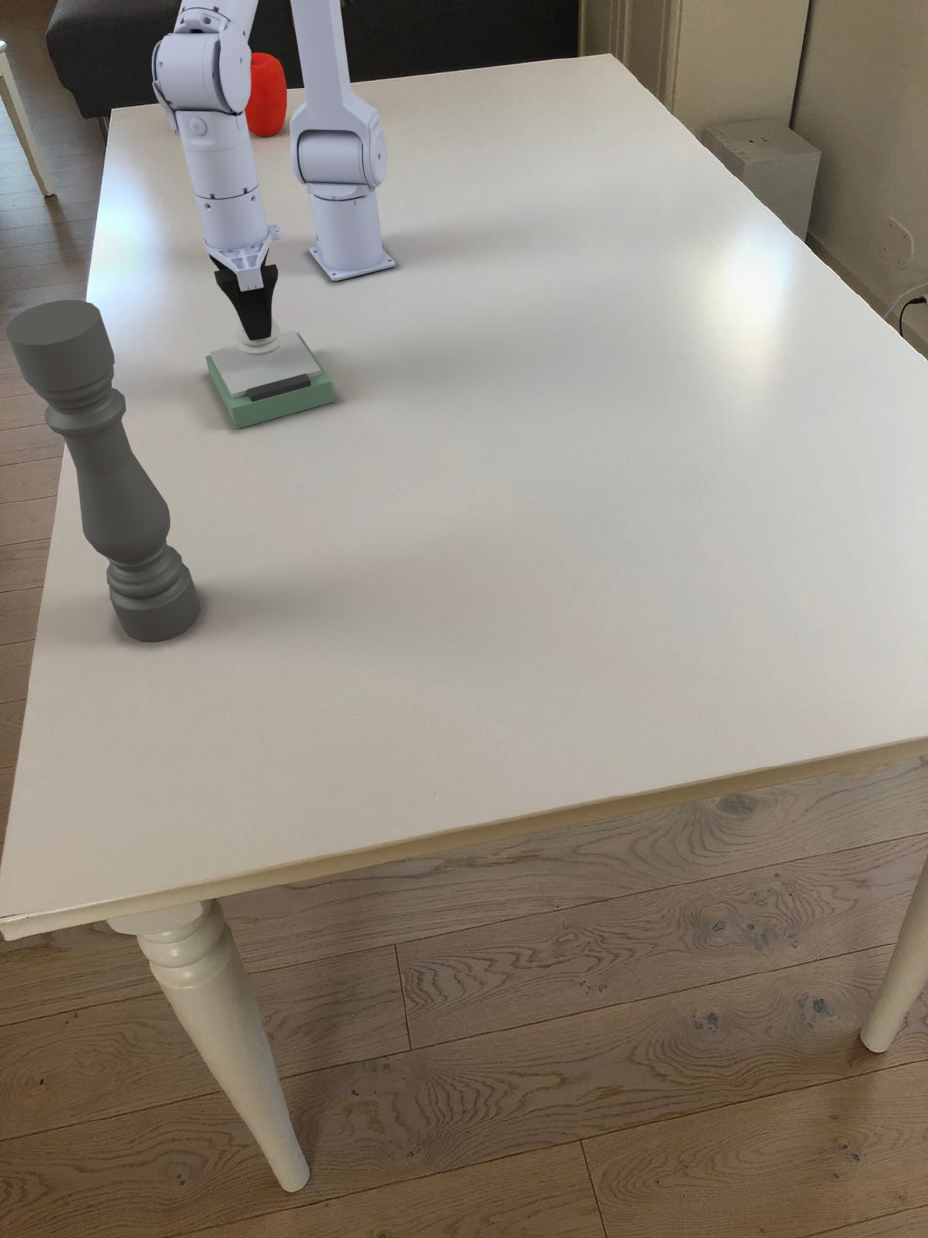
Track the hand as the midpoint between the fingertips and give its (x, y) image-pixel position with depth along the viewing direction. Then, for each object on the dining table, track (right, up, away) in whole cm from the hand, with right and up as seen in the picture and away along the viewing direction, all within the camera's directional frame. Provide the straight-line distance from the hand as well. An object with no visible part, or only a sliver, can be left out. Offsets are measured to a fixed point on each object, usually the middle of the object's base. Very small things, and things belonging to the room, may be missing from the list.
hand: (257, 327), depth 98 cm
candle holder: (-4, -28, -19) cm, 34 cm away
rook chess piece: (0, -2, +2) cm, 2 cm away
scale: (+1, -5, +4) cm, 7 cm away
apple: (-10, +47, +58) cm, 76 cm away
